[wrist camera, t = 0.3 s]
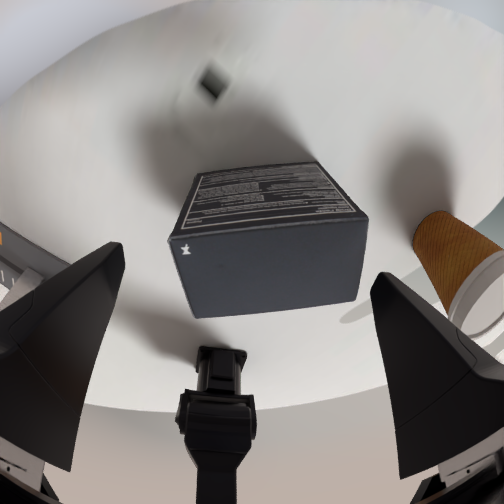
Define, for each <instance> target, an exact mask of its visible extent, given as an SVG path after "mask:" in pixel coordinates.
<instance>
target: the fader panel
mask: <svg viewBox="0 0 504 504" xmlns="http://www.w3.org/2000/svg"><path fill="white" fill-rule="evenodd" d="M68 266H70V264H68V263H66V262H65V261H63V260H61V259H59V258H57V257H56V256H54V255H52V254H50V253H49V252H47V251H45V250H43V249H42V248H40V247H38V246H37V245H35V244H33V243H32V242H30V241H28V240H27V239H25V238H23V237H22V236H20V235H19V234H17V233H16V232H14V231H12V230H11V229H9V228H8V227H6V226H5V225H3V224H2V223H0V283H1V284H2V285H4V286H5V287H6V288H8V289H9V290H10V289H11V288H12V286H13V285H14V284H15V282H16V281H17V280H18V279H19V277H20V276H21V275H22V274H23V272H24V271H25V270H26V269H27V267H29V268H31V269H32V270H34V271H35V272H37V273H39V274H40V275H42V276H44V277H45V281H46V280H48V279H49V278H51V277H53V276H54V275H56V274H57V273H59V272H60V271H62V270H64V269H65V268H67V267H68Z"/></svg>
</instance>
